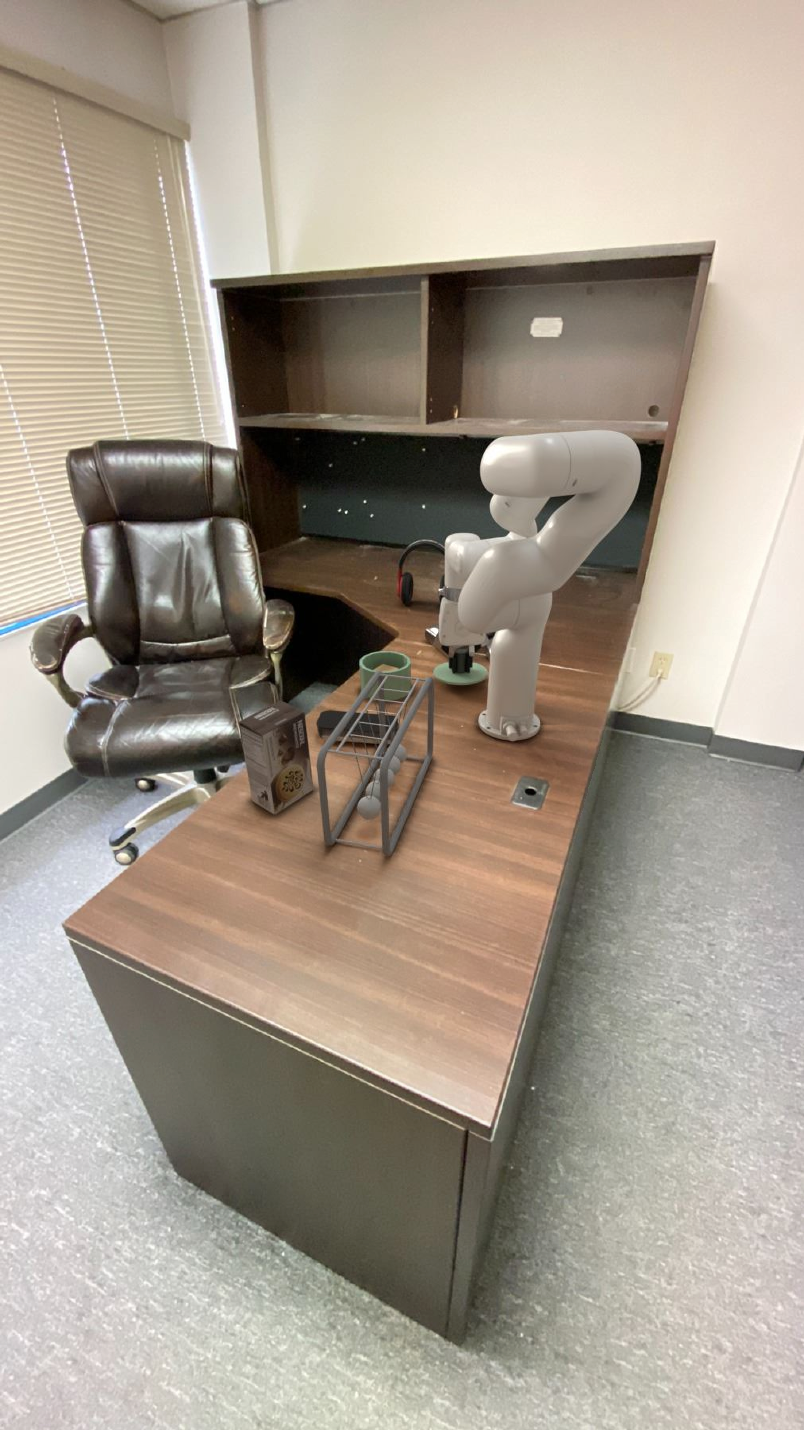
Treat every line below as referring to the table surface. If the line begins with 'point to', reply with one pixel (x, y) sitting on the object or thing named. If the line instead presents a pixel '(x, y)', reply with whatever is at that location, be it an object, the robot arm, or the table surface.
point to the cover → (460, 671)
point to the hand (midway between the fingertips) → (460, 670)
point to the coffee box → (277, 756)
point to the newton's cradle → (388, 765)
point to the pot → (387, 673)
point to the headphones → (406, 579)
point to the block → (385, 668)
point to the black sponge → (332, 719)
